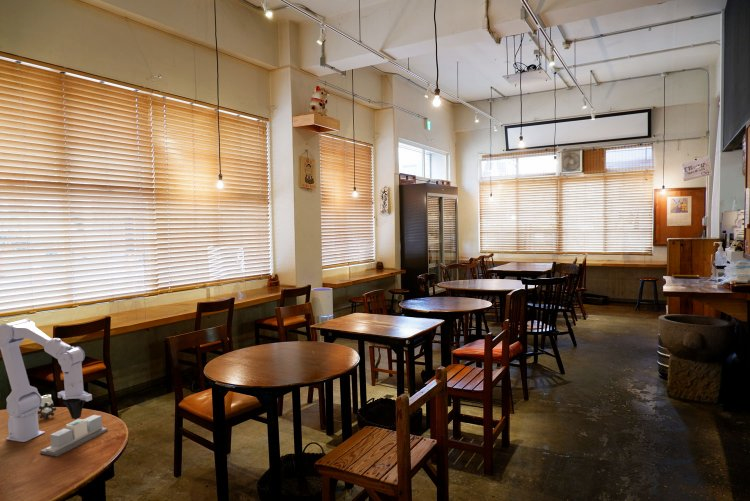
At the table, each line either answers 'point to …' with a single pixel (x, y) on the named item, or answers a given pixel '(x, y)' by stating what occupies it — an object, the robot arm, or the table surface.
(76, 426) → the cream module
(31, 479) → the table surface
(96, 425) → the board
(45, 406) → the valve
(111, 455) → the table surface
